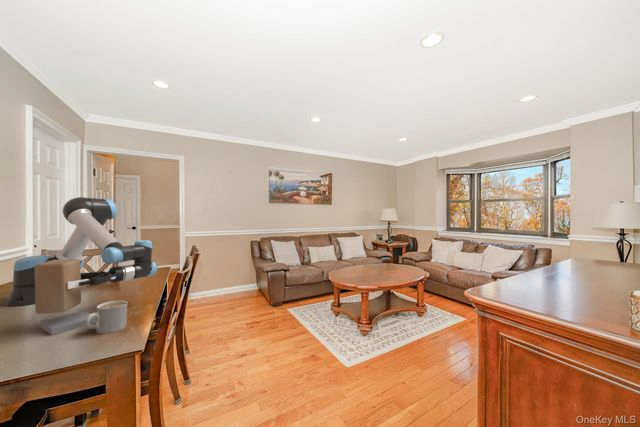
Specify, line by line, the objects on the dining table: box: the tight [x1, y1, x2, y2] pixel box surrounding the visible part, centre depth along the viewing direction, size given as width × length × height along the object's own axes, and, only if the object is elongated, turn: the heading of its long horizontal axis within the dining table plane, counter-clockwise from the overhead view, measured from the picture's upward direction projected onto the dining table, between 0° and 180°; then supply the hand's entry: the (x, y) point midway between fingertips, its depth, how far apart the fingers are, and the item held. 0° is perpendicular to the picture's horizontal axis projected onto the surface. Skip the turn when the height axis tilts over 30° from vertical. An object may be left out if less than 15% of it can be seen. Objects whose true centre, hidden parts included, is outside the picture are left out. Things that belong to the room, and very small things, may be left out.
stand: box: [39, 310, 96, 336], centre depth 107 cm, size 14×14×2 cm
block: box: [34, 259, 82, 315], centre depth 103 cm, size 10×10×20 cm
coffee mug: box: [85, 300, 128, 335], centre depth 103 cm, size 13×10×10 cm
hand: (61, 283), depth 104 cm, fingers closed on block, 13 cm apart
